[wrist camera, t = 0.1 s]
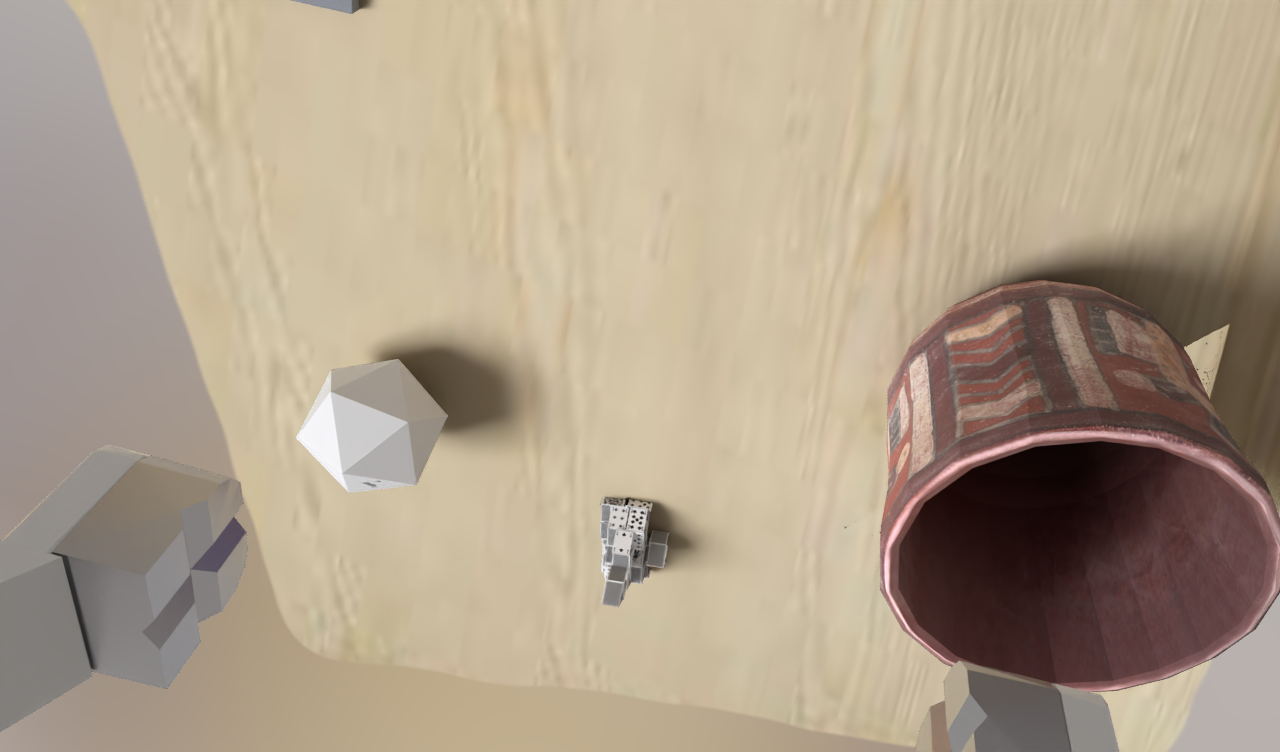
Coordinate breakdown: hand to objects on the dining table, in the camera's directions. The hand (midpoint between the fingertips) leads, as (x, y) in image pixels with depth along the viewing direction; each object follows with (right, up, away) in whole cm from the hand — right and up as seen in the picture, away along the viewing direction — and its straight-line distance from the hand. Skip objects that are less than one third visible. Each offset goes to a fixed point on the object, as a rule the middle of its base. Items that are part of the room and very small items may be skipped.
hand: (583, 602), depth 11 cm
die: (-16, +2, +61) cm, 63 cm away
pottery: (+24, +3, +51) cm, 56 cm away
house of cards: (+2, -10, +65) cm, 66 cm away
